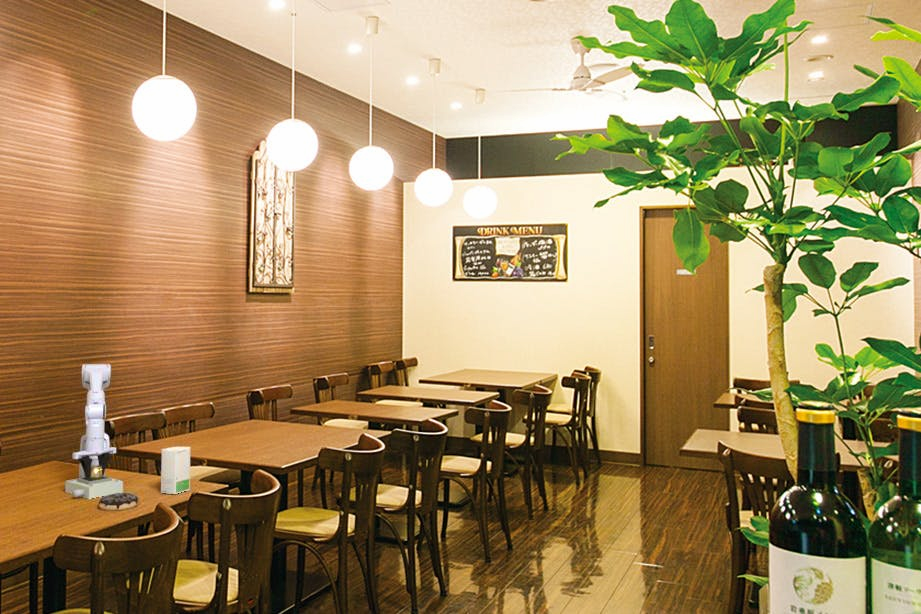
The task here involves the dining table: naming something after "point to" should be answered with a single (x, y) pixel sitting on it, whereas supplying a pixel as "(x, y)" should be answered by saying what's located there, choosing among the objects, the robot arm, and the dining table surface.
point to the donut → (118, 501)
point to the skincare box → (175, 470)
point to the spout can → (95, 472)
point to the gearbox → (93, 487)
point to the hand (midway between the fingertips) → (94, 476)
